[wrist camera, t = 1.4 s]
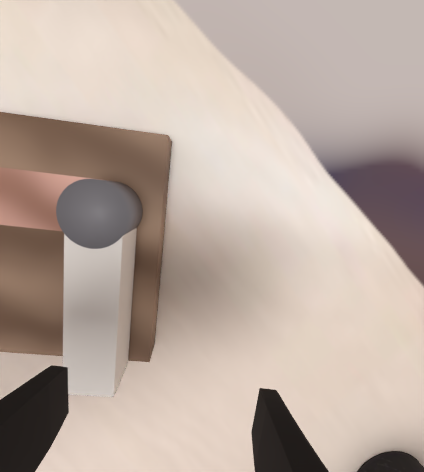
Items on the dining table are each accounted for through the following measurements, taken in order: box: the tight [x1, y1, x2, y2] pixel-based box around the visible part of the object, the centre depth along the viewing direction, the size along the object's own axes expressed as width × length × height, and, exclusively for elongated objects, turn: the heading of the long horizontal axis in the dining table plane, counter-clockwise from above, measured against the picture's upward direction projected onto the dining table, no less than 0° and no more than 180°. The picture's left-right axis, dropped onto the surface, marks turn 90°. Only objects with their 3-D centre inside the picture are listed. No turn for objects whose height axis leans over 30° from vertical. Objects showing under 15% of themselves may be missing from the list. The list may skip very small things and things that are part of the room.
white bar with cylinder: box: [56, 179, 143, 397], centre depth 15 cm, size 13×4×3 cm, turn 173°
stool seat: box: [0, 112, 172, 362], centre depth 17 cm, size 16×16×2 cm
